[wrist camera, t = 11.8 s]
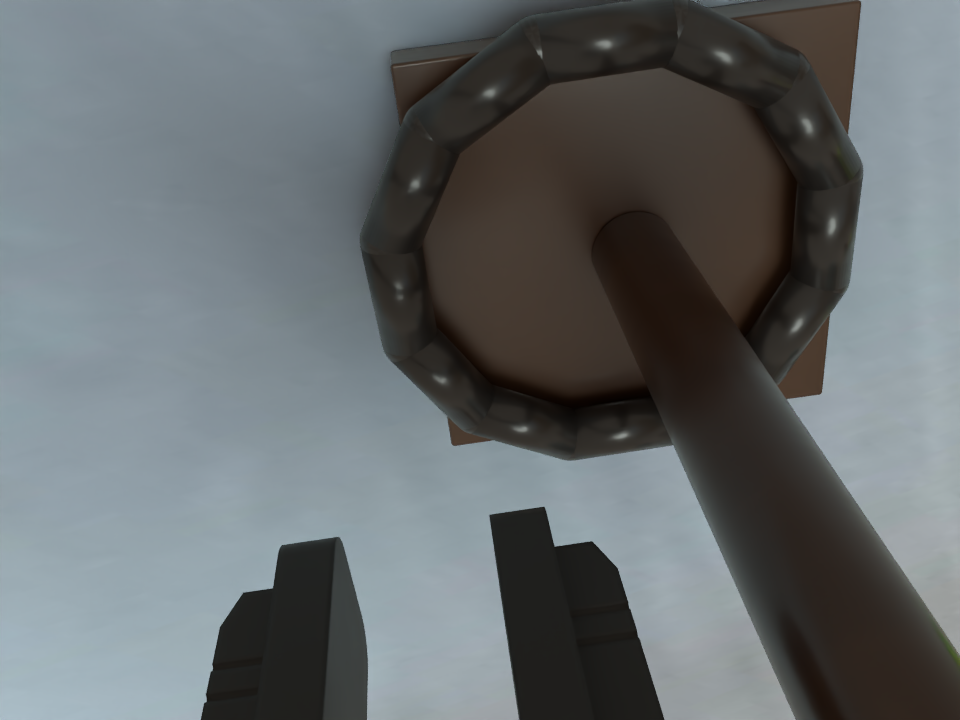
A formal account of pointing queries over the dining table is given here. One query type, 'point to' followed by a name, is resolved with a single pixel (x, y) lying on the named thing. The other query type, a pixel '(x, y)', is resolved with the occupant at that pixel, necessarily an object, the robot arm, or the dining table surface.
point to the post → (684, 335)
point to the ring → (583, 55)
